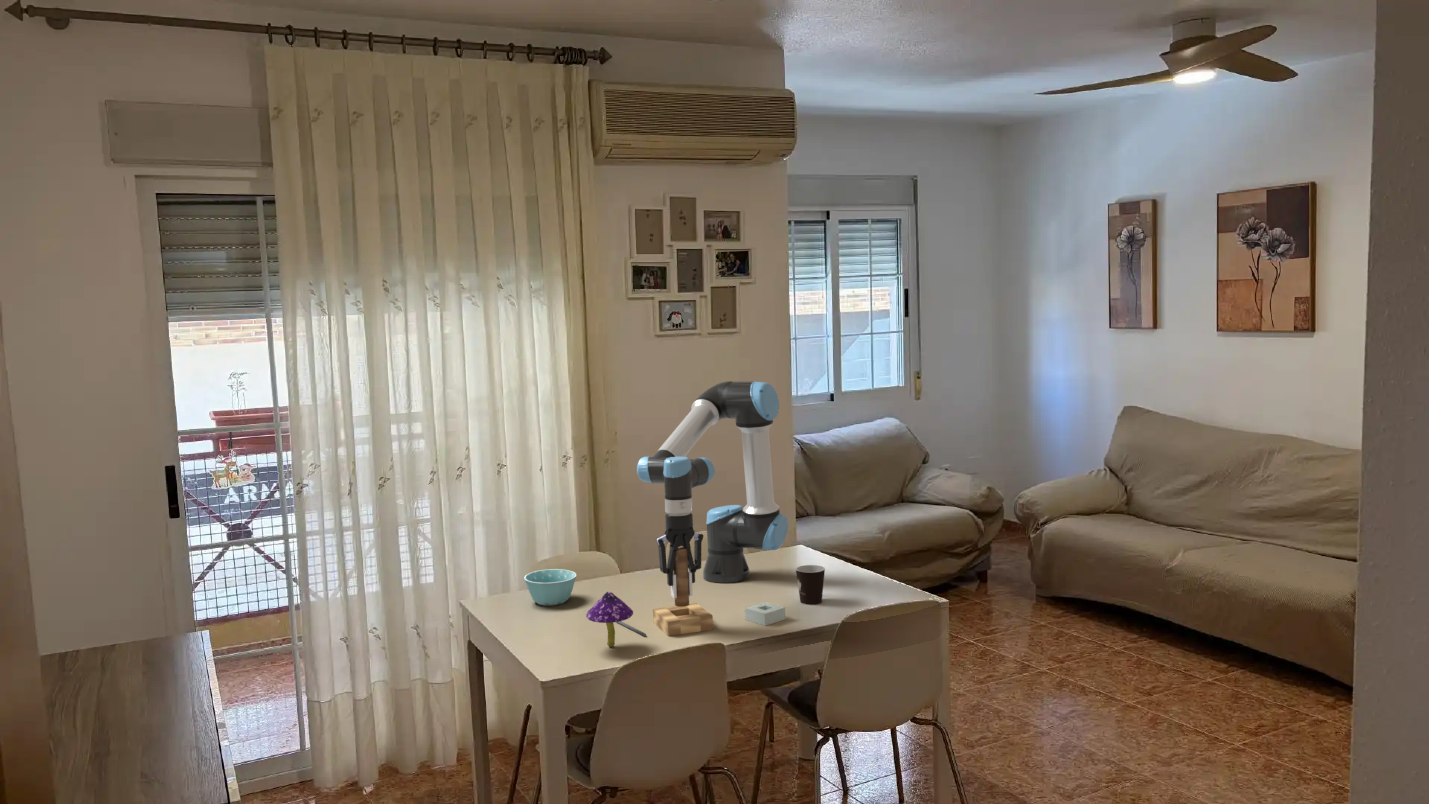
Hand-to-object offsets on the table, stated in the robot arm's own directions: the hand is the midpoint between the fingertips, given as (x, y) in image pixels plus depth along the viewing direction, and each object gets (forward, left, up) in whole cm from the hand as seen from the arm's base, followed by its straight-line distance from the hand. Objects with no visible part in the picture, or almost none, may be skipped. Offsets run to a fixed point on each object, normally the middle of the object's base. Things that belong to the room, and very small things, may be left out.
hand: (681, 595), depth 298 cm
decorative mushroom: (+8, -23, -9) cm, 26 cm away
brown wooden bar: (0, 0, -3) cm, 3 cm away
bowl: (-41, -28, -9) cm, 50 cm away
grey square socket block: (+5, +23, -9) cm, 25 cm away
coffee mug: (-6, +43, -9) cm, 44 cm away
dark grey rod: (-4, -14, -9) cm, 17 cm away
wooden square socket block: (0, 0, -9) cm, 9 cm away
